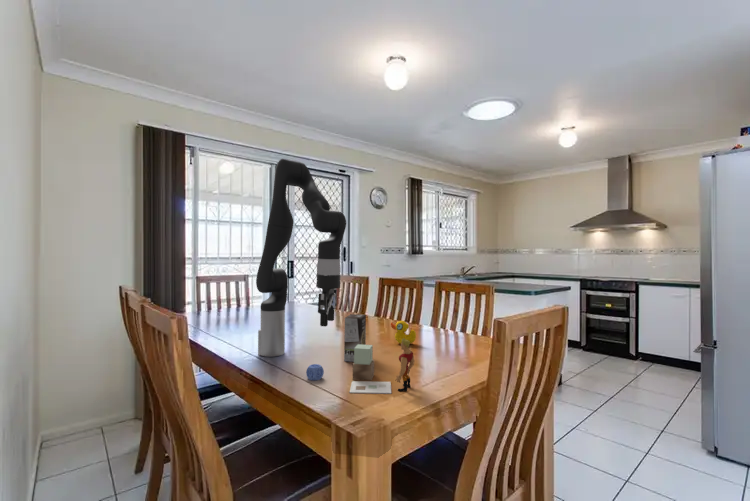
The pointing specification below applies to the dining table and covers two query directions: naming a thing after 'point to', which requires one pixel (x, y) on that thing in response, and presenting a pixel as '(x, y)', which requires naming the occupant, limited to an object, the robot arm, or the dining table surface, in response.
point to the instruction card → (370, 387)
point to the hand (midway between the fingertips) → (327, 323)
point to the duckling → (402, 328)
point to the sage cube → (363, 354)
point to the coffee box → (354, 334)
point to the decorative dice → (315, 372)
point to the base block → (363, 371)
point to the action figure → (405, 364)
